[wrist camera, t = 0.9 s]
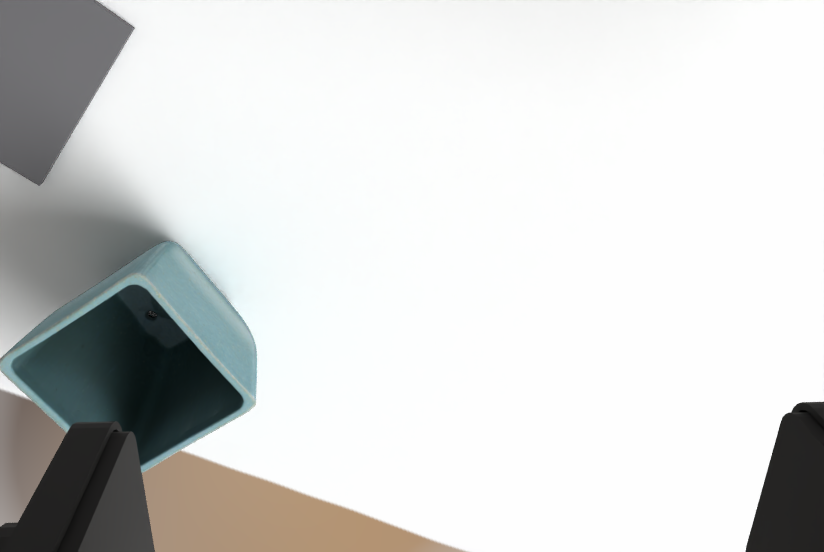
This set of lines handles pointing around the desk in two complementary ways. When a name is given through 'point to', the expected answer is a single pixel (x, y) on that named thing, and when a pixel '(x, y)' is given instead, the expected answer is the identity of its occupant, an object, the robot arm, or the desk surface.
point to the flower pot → (142, 356)
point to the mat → (50, 75)
